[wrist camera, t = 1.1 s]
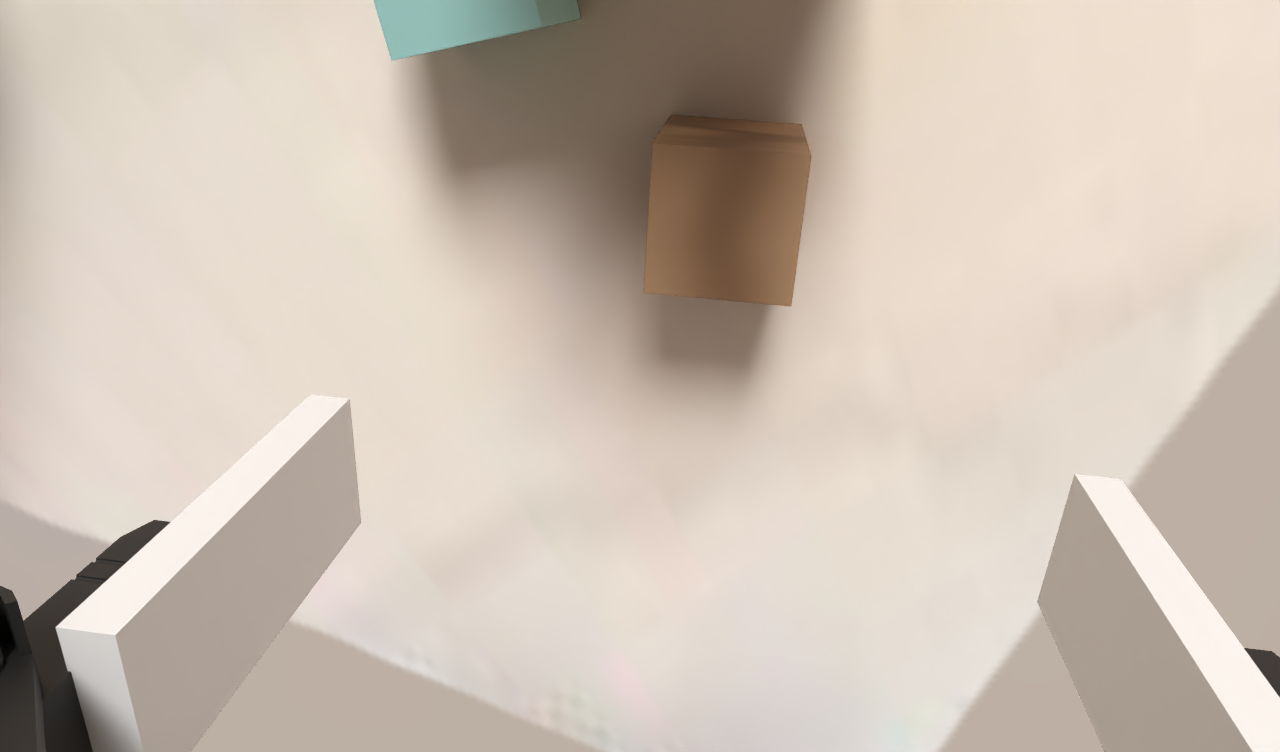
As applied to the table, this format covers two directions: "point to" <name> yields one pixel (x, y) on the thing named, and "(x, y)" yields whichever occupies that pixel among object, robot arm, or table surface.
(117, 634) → the robot arm
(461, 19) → the teal block
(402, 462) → the table surface
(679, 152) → the walnut block
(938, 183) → the table surface
